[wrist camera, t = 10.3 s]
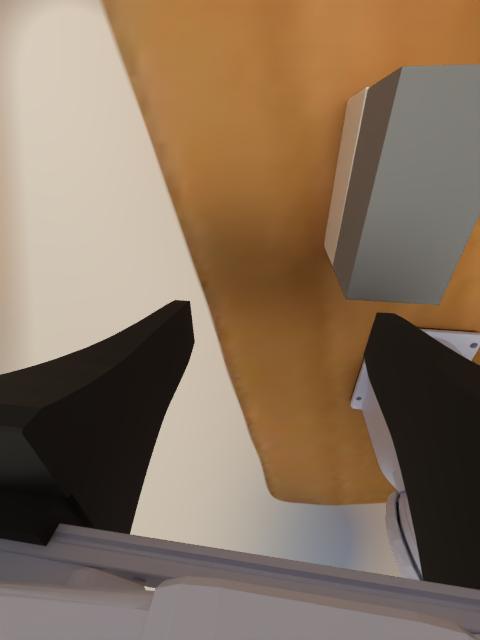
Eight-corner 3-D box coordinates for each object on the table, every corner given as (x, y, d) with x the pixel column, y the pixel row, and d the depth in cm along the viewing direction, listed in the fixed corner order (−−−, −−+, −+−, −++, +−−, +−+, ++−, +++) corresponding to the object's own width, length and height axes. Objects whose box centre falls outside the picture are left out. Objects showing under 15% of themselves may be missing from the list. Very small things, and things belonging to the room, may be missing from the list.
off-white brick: (383, 247, 19) (405, 269, 15) (323, 244, 19) (332, 265, 16) (425, 98, 14) (468, 84, 11) (347, 100, 15) (366, 87, 12)
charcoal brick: (404, 270, 16) (438, 304, 12) (332, 266, 16) (345, 299, 13) (469, 87, 11) (549, 62, 8) (367, 88, 12) (402, 66, 8)
